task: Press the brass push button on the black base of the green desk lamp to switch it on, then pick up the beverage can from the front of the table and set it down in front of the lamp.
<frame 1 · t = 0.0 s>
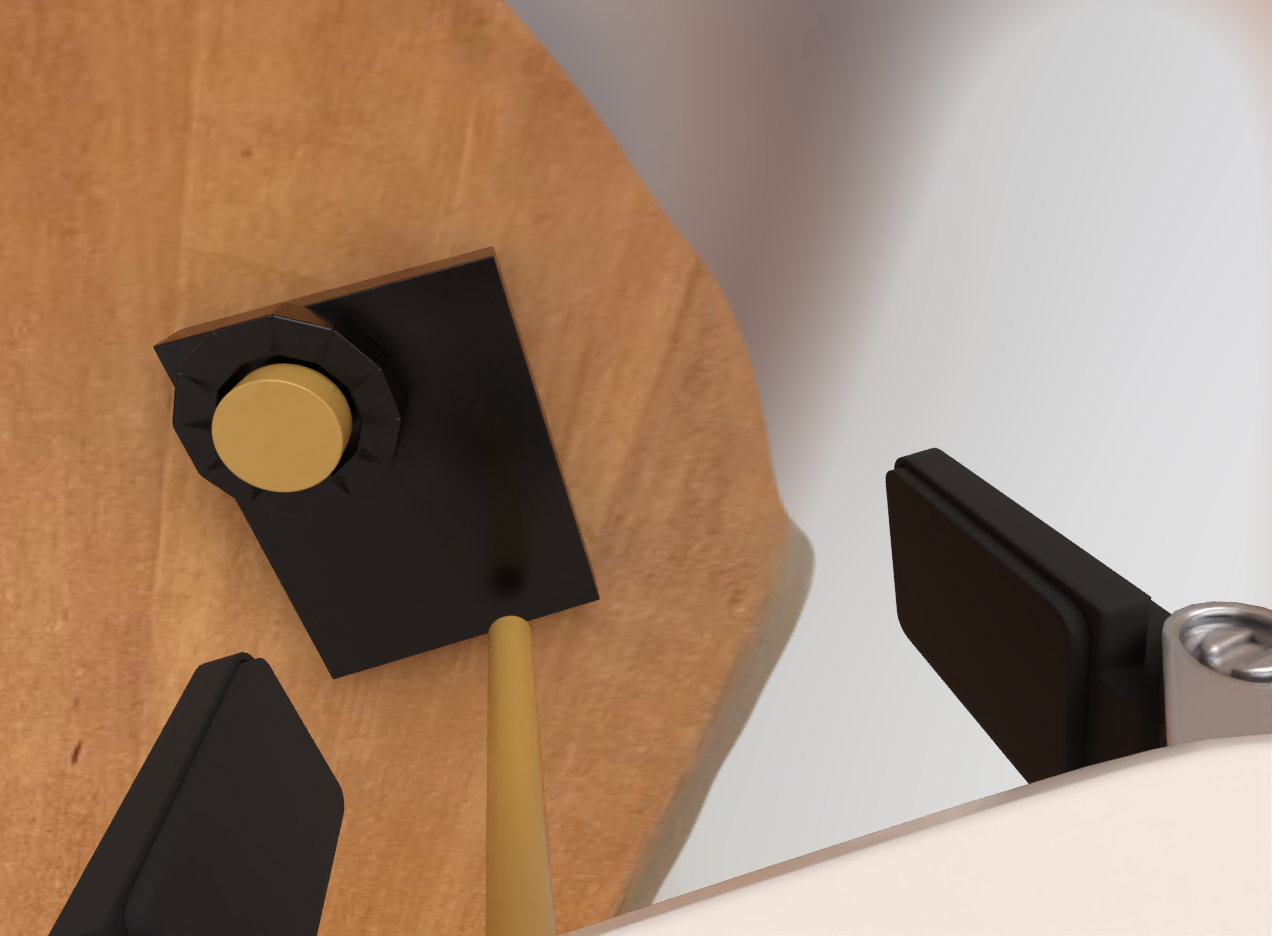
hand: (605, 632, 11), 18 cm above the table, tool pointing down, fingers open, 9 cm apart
lamp: (509, 632, 28), resting on lamp base
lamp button: (285, 427, 22), point 4 cm above the table, slide at 0.1 cm
lamp base: (410, 464, 28), on the table
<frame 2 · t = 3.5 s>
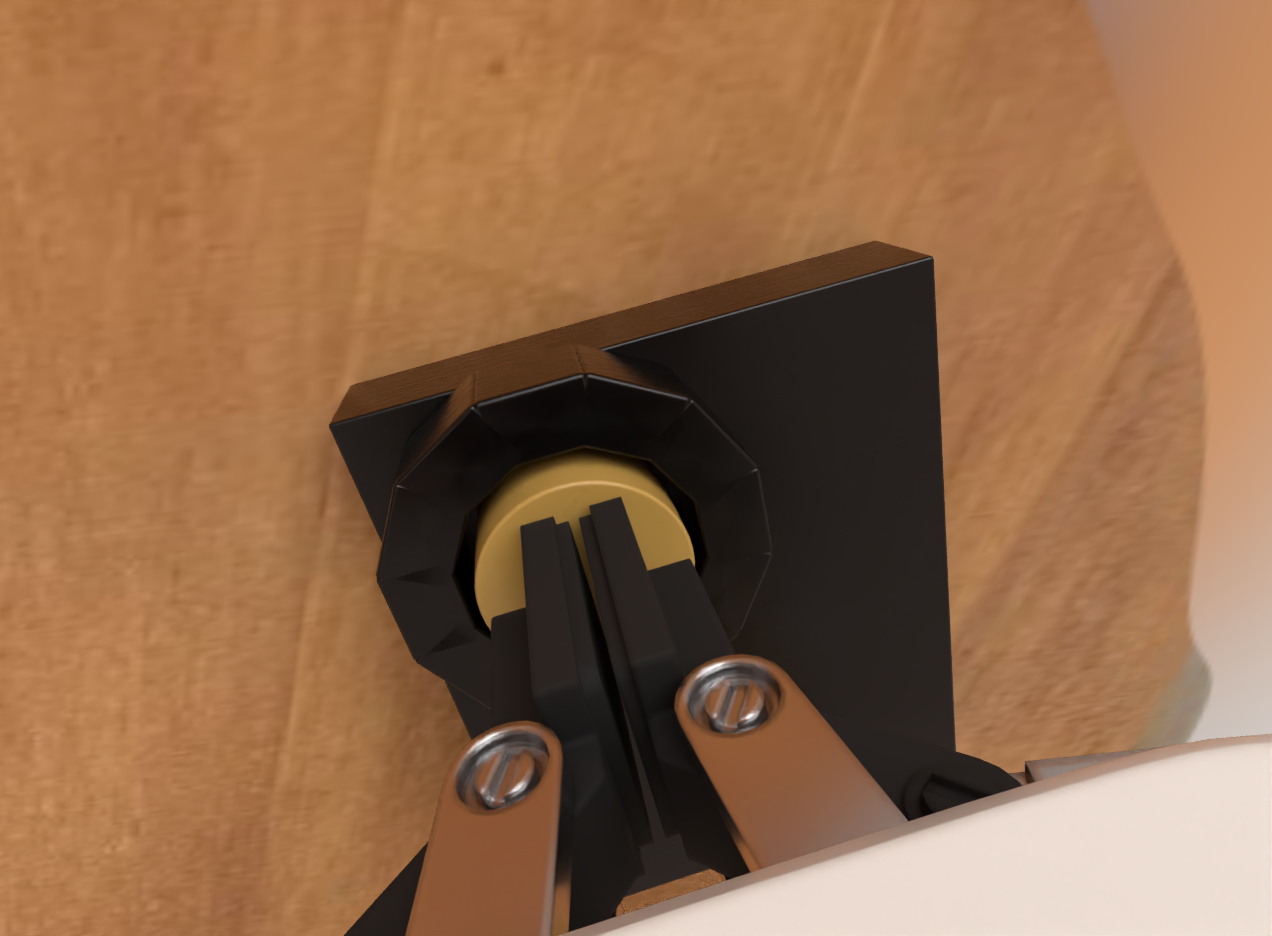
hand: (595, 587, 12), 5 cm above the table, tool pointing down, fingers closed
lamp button: (582, 554, 13), point 4 cm above the table, slide at -0.8 cm, touching gripper
lamp base: (686, 589, 18), on the table
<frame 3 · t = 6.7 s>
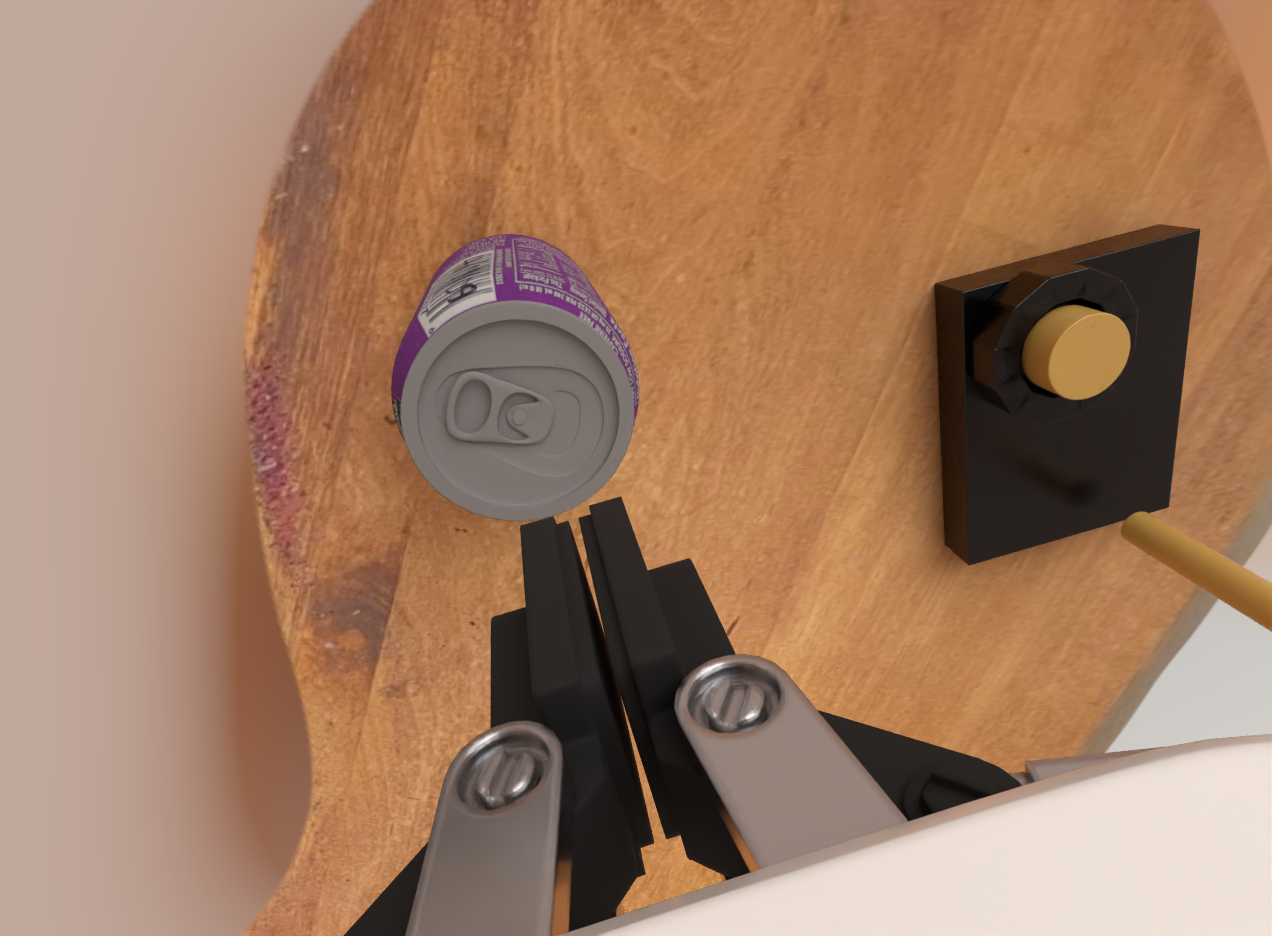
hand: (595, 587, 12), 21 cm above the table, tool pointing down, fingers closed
lamp: (1135, 525, 35), resting on lamp base
beverage can: (512, 320, 31), on the table
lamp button: (1074, 352, 30), point 4 cm above the table, slide at 0.1 cm
lamp base: (1044, 395, 36), on the table
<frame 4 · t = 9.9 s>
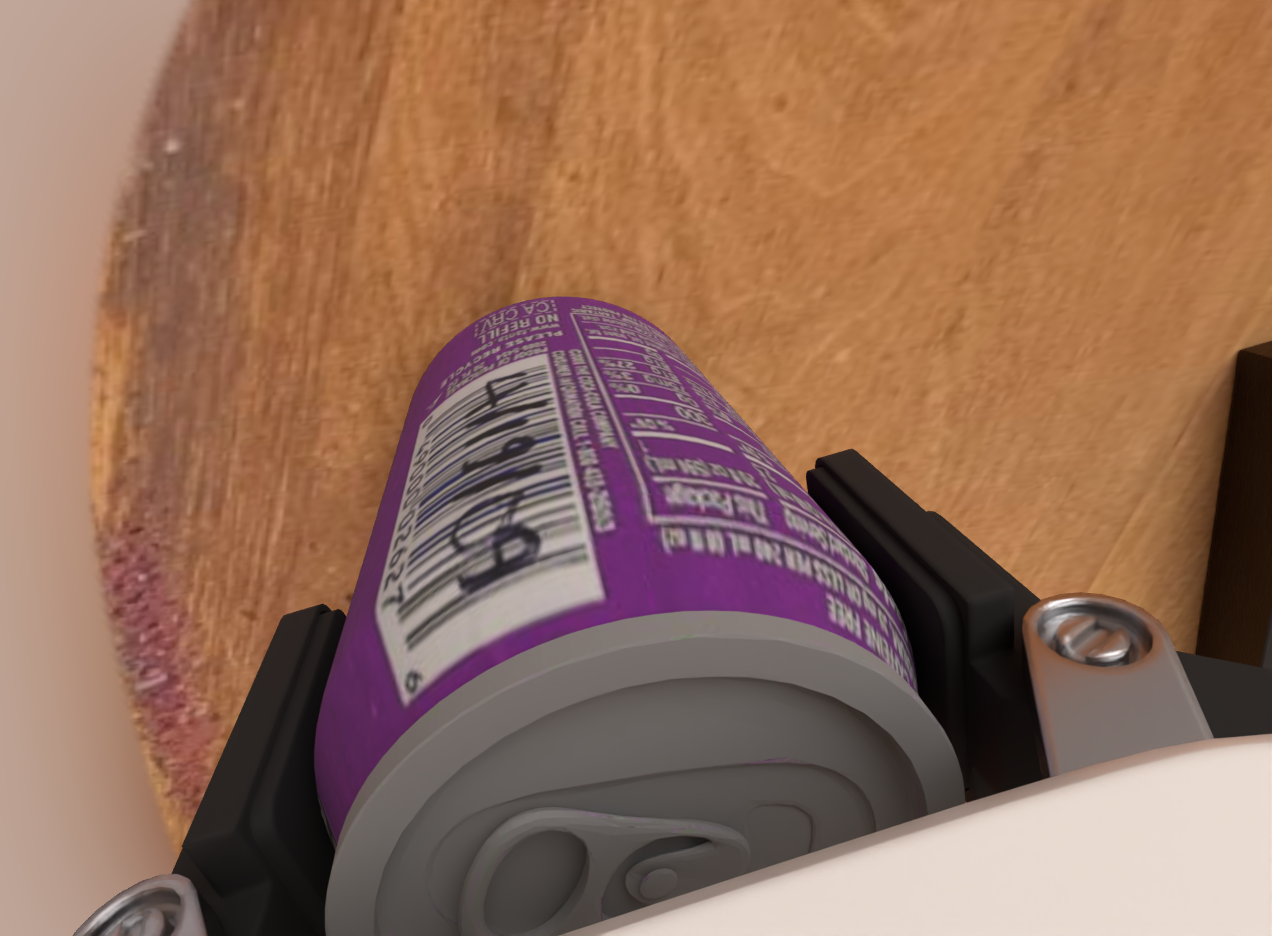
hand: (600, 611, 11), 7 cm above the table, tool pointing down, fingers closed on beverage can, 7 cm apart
beverage can: (560, 435, 18), on the table, touching gripper
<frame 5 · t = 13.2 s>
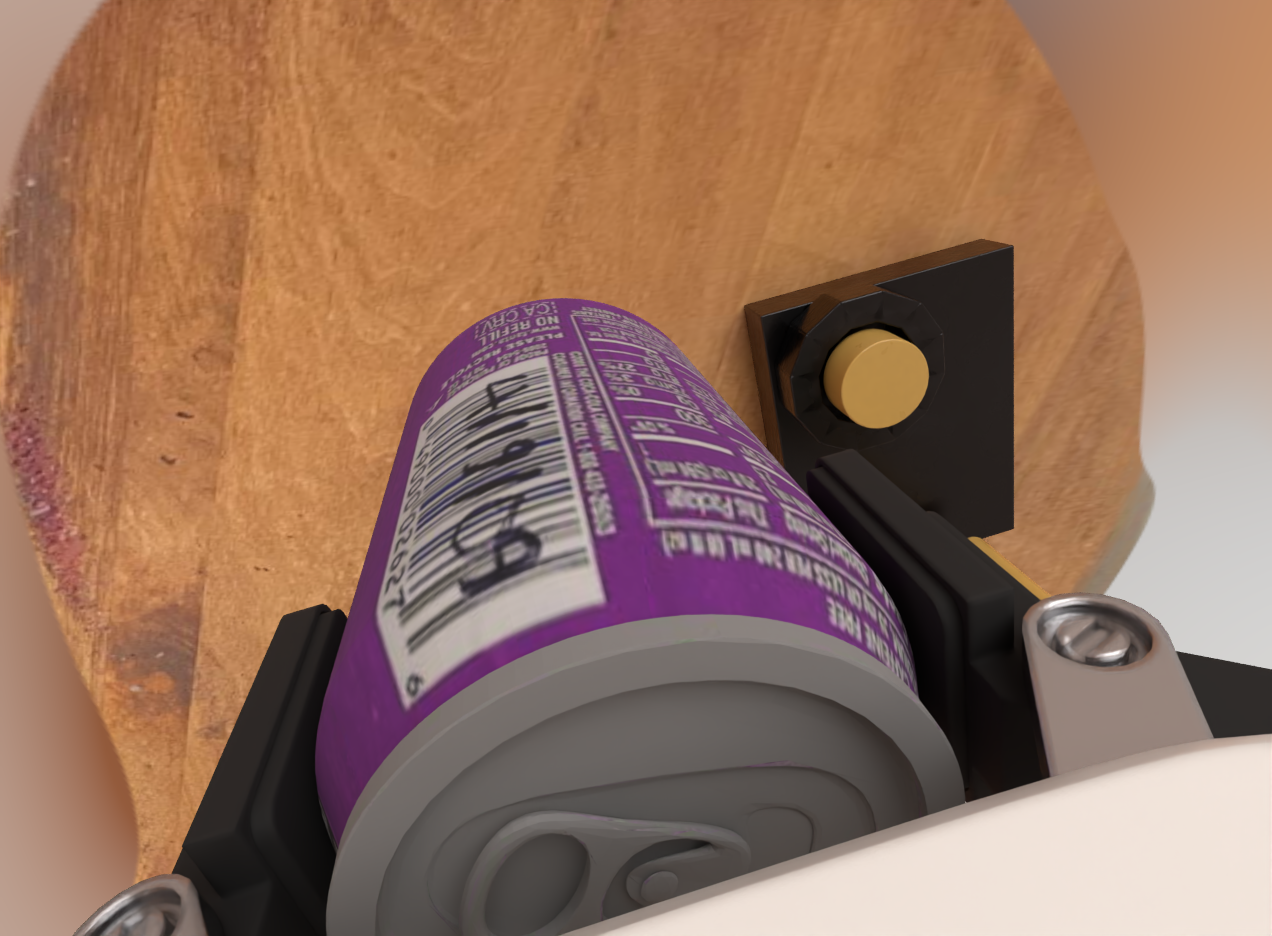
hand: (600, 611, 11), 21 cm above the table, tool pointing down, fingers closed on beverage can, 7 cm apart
lamp: (969, 551, 34), resting on lamp base
beverage can: (560, 436, 18), point 14 cm above the table, touching gripper
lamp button: (875, 378, 29), point 4 cm above the table, slide at 0.1 cm
lamp base: (877, 416, 35), on the table
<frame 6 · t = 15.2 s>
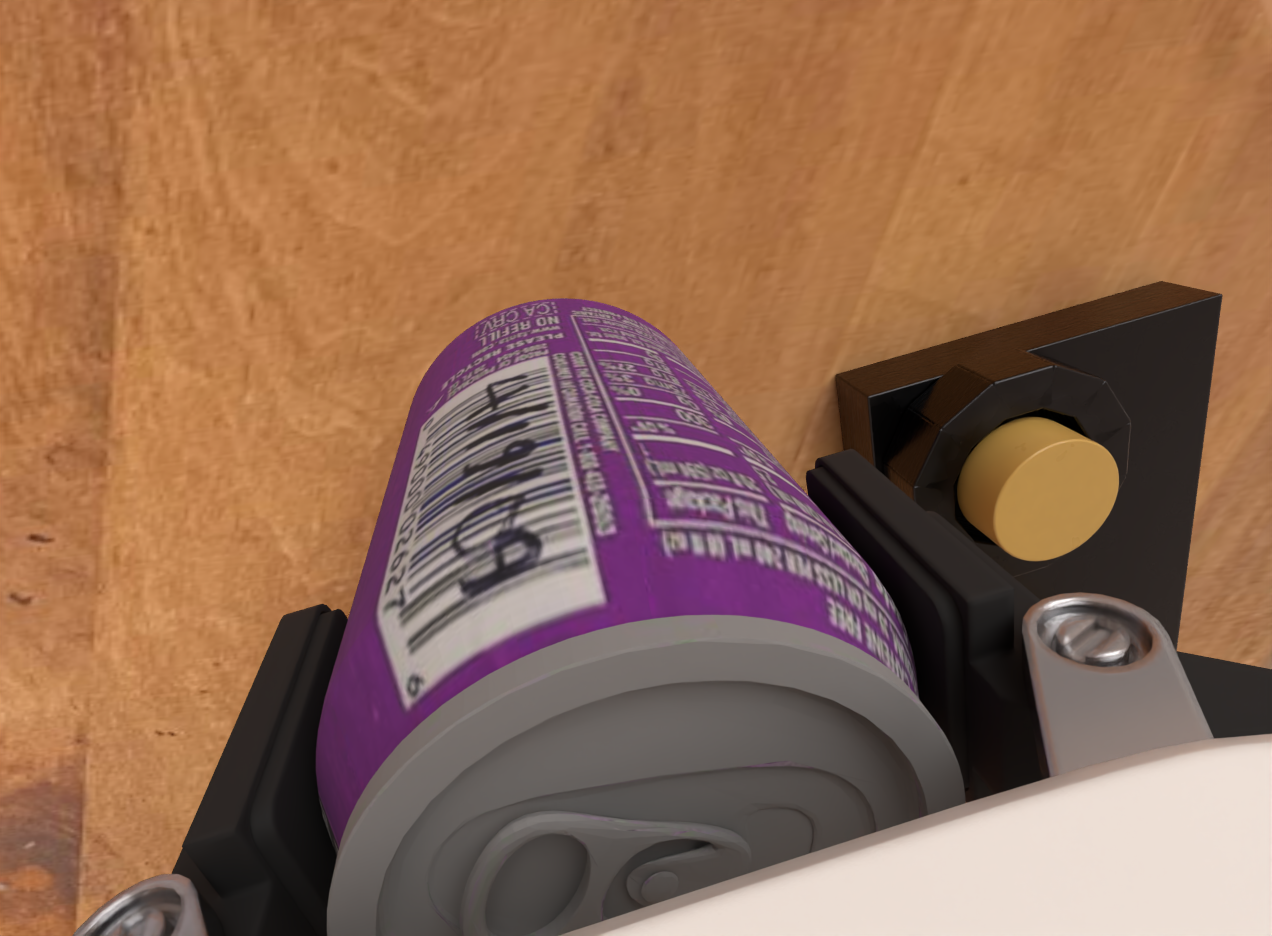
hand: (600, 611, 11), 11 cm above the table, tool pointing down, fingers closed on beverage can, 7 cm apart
beverage can: (560, 436, 18), point 4 cm above the table, touching gripper
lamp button: (1035, 488, 20), point 4 cm above the table, slide at 0.1 cm
lamp base: (1001, 515, 26), on the table
when the fingers open (7 cm above the table, at t = 16.8 s): beverage can stays where it is, on the table.
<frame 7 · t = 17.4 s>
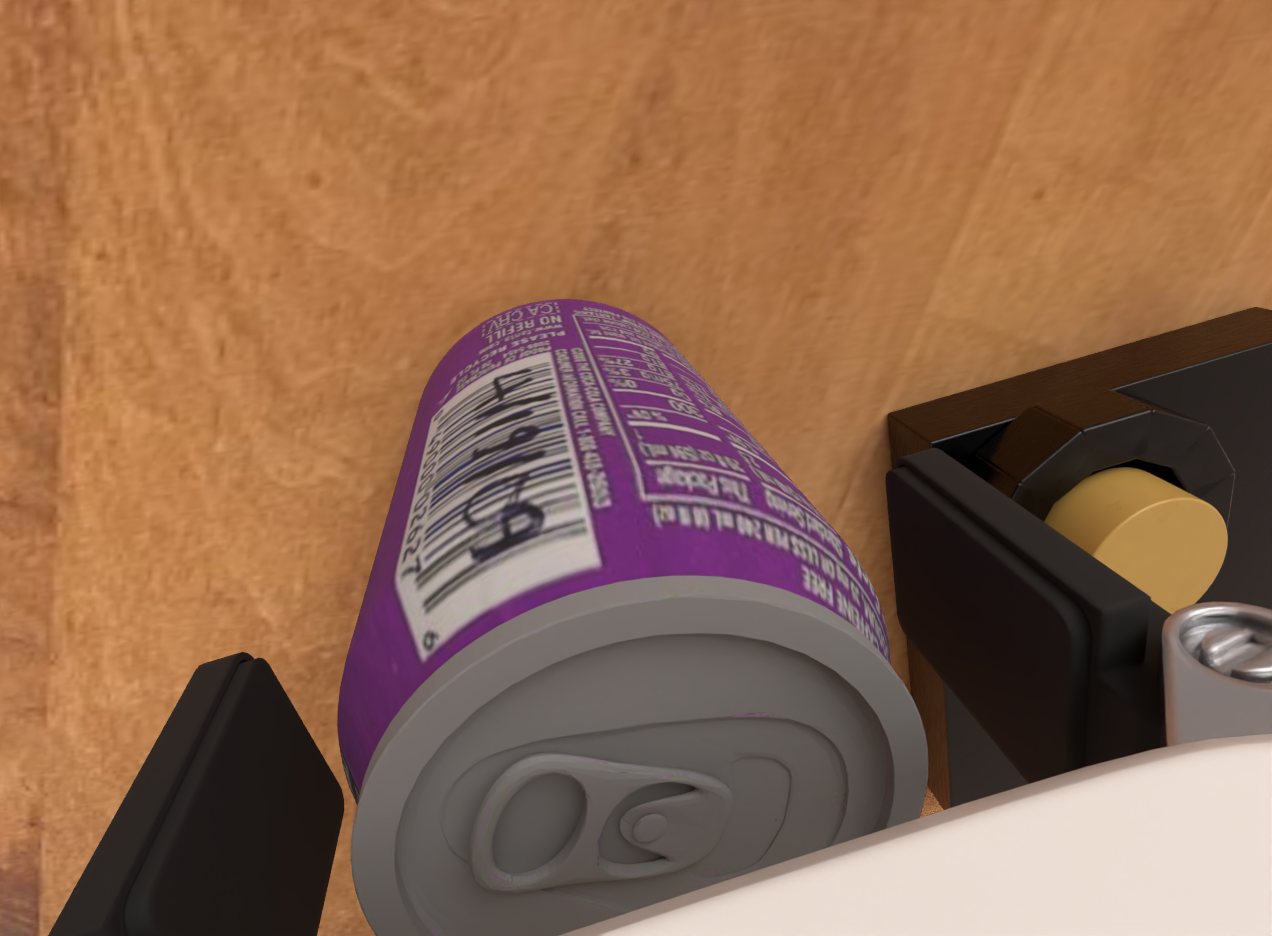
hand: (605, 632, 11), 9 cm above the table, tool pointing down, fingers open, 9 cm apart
beverage can: (562, 431, 19), on the table
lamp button: (1126, 550, 17), point 4 cm above the table, slide at 0.1 cm
lamp base: (1067, 565, 23), on the table
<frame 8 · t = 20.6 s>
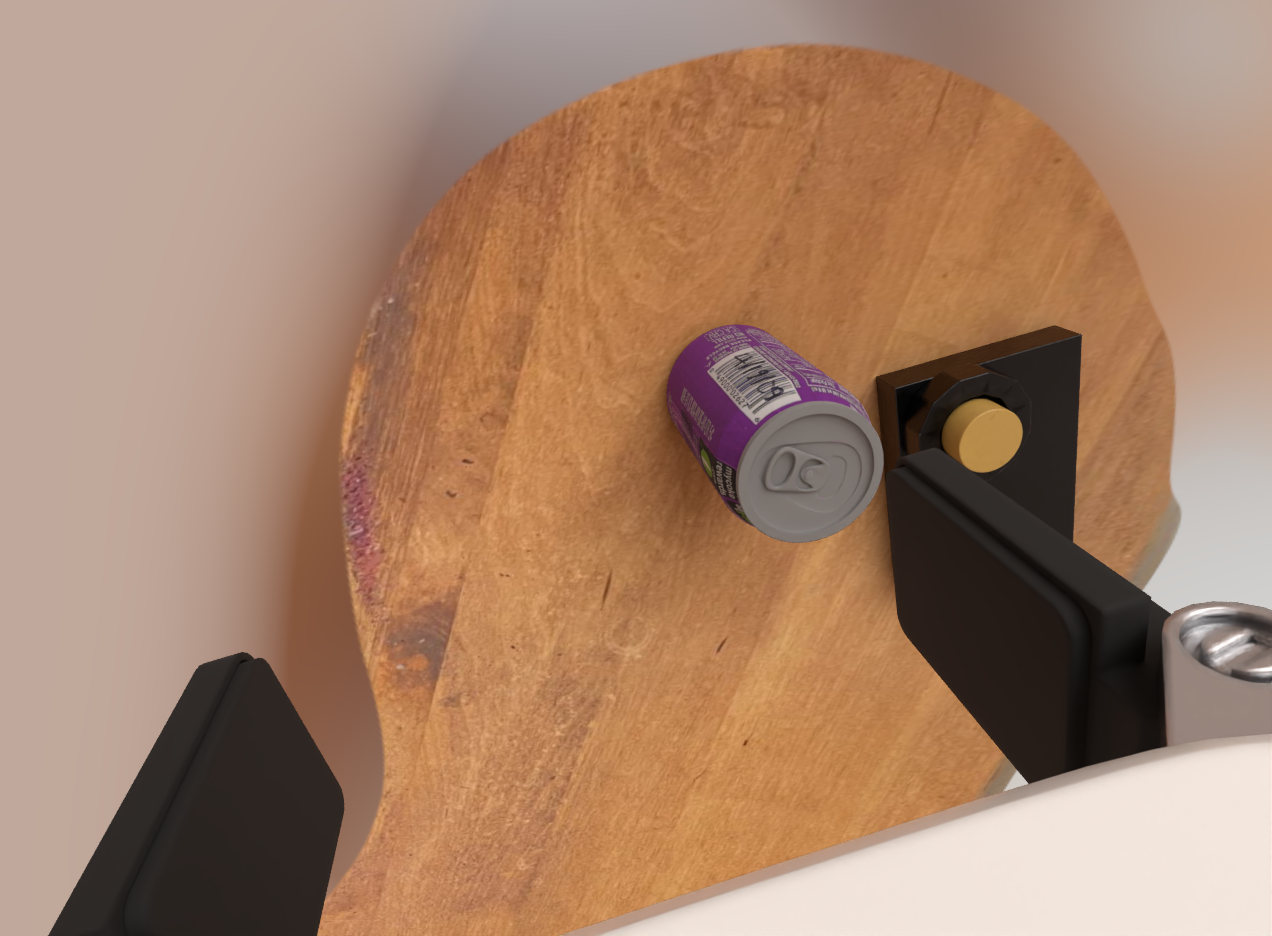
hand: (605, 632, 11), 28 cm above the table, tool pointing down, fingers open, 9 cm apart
beverage can: (725, 384, 40), on the table
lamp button: (981, 435, 39), point 4 cm above the table, slide at 0.1 cm
lamp base: (969, 457, 45), on the table
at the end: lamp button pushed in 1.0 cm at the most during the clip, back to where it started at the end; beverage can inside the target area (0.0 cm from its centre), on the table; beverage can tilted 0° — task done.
